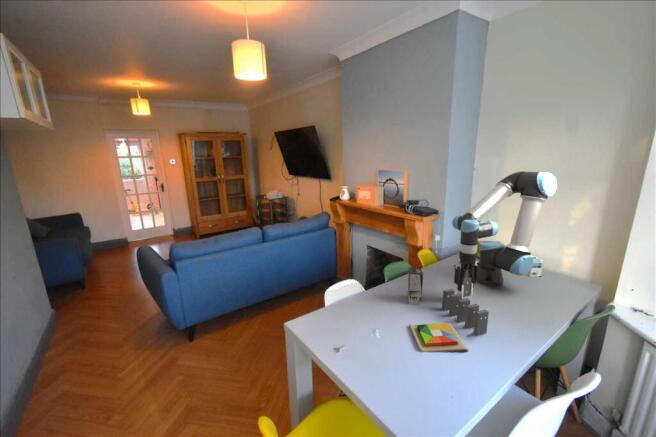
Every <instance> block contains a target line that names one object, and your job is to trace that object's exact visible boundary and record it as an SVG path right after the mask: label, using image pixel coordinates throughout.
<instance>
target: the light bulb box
mask: <svg viewBox="0 0 656 437" xmlns="http://www.w3.org/2000/svg"><path fill="white" fill-rule="evenodd" d="M530 256H532V257H533V259H534V264H533V267H532V269H531V270H530V271H529V272H528V273H527V275H526V276H528V277H530V278H540V277H539V276H541V277H542V271H543V264H544V259H541V258H539V257H537V256H535V255H533V254H531V255H530Z"/></svg>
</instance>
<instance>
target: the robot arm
mask: <svg viewBox="0 0 656 437" xmlns="http://www.w3.org/2000/svg"><path fill="white" fill-rule="evenodd" d="M557 181H558V180H557V179H556V176H554V174H553V173H551V172H543V171H525V170H524V171H516V172H514V173H511V174H508V175H507V176H506V177H503V178H502V179H501V180H500V181H499V182H497V183H496V184H495V186H494V188H493V189H492V190H491V191H490V192H488V194H486V195H485V196H484V197H483V198H481V199H480V200H479V201H477V203H475V205H474V206H472V207H471V208H470V209H469V210H468V211H467V212H465V213H464V214H463V215H455V216H454V217H453V219H452V222H451V225H452V227H453V228H454V229H455V230H458V231H460V242H459V256H458V257H459V262H458V264H454V266H453V267H454V278H453V284H455V285H457V294H459V293H460V294H461V295H462V299H464V297H463V290H464V285H462V284H463V281H464V277H466V274H467V273H468V276H470V277H472V282H471V296H473V293H474V292H473V291H474V288H475V284H477V283H478V284H480V285H481V284H482V285H484V286H489V287H499V286H500V287H501V286H502V285H504V281H505V279H504V277H503V271H505V272H508V273H510V274H512V275H517V276H520V277H521V276H525V275H526V274H527V273H528V272H529V271H530V270H531V269H532V267H533V264H534V259H533V257H532V256H530V255H532V251H531V249H530V245H531V242H532V239H533V235H534V231H535V228H536V225H537V222H538V219H539V217H540V216H539V214H540V212H541V209H542V205H543V203H545V202H547V201H548V198H550V197H552V196H553V195H554V194H555V193H556V191H557V188H558V184H557V183H558V182H557ZM514 194H520V196H519V197H520V198H521V204H520V207H519V211H518V214H517V218H516V221H515V225H514V228H513V231H512V235H511V238H510V242H509V243H507V244H506V245H505V243H502V242H501V243H498V242H486V243H483V244H482V245H481V249H480V258H479V262H477V261H475V260H476V257H477V253H476V252H477V244H478V241H479V239H484V238H490V237H493V236H496V235H498V232H499V225H498V224H497V222H495V221H493V220H486V221H485V220H482V219H483V218H484V217H486V215H488V214H489V213H490V212H491V211H492V210H493V209H494V208H496V207H497V206H498V205H499V204H500V203H501V202H502V201H504V200H505V199H506V198H510V197H511V196H512V195H514ZM504 245H505V246H504ZM504 247H505V248H504ZM502 270H503V271H502ZM471 296H470V297H471Z"/></svg>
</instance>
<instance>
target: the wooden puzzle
mask: <svg viewBox="0 0 656 437" xmlns="http://www.w3.org/2000/svg"><path fill="white" fill-rule="evenodd" d="M408 326H409V329H410V332H411V333H412V335H413V337H414V340H415V342H416V344H417V347H418V349H419V351H420V352H422V353H439V352H440V353H442V352H453V351H466V352H468V351H469V348H468V347H467V346H466V344H465V343H464V341H463V339H461V336H459V334H458V332H457V330H456V329H455V328H454V326H453V325H452V323H450V322H436V323H423V324H412V323H409V324H408Z"/></svg>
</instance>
